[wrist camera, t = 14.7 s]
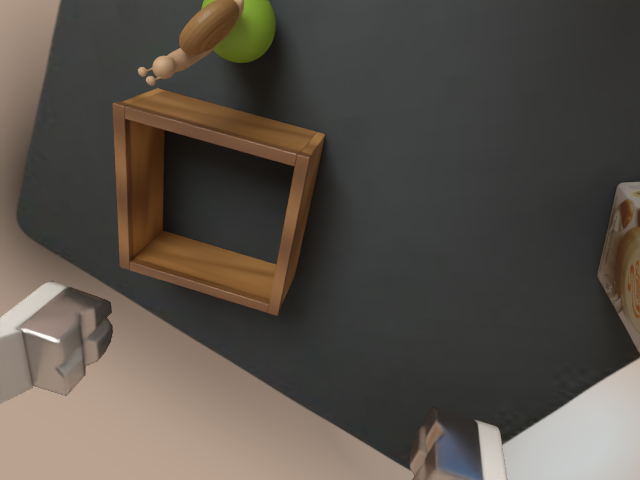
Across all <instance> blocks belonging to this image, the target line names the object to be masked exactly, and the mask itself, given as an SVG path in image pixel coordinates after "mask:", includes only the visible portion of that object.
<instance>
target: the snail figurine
mask: <svg viewBox="0 0 640 480" xmlns="http://www.w3.org/2000/svg"><path fill="white" fill-rule="evenodd" d="M275 29H276V20H275V14H274V11H273V8H272V6H271V4H270V2H269V0H204V2H203V5H202V9H201V10H200V11H199V12H198V13H197V14H196V15H195V16H194V17H193V18H192V19H191V20H190V21H189V22H188V23H187V25H186V26H185V27H184V29H183V30H182V32H181V34H180V38H179V44H180V47H181V48H180V49H177V50H175V51H174V52H172V53H170V54H169V55H167V56H160V57H158V58H157V59H156V60H155V61H154V63H153V67H152V68H151V69H149V70H146V68H144V67H140V68H139V69H138V73H139V75H141V76H143V77H144V76H146V75H147V71H150V70H153V72H154V74H155V75H156V76H157V77H158V78H156V79H155V78H154V77H152V76H148V77H147V78H146V82H147V83H148V84H149V85H154V84H155V83H156V80H157V79H160V78H161V79H166V78H169V77H171V76H172V75H173V74H174V73H175V72H179V71H182V70H184V69H186V68H188V67H190V66H191V65H193V64H194V63H196V62H197V61H199V60H200V59H202V58H203V57H205V56H206V55H208V54H209V53H210V52H211V51H212V50H213V51H214V52H215V53H217V54H218V55H219V56H221V57H222V58H224V59H226V60H228V61H231V62H236V63H246V62H251V61H253V60H256V59H258V58H259V57H261V56H262V55H263V54H264V53H265V52H266V51H267V50H268V48H269V47H270V45H271V43H272V41H273V39H274V35H275Z"/></svg>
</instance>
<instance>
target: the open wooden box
mask: <svg viewBox="0 0 640 480" xmlns="http://www.w3.org/2000/svg"><path fill="white" fill-rule="evenodd" d="M113 121H114V143H115V165H116V187H117V208H118V230H119V252H120V267H122V268H125V269H128V270H131V271H134V272H137V273H141V274H144V275H147V276H150V277H154V278H157V279H160V280H163V281H167V282H170V283H173V284H176V285H179V286H183V287H186V288H189V289H192V290H196V291H199V292H202V293H205V294H208V295H212V296H215V297H218V298H221V299H225V300H228V301H231V302H234V303H238V304H241V305H244V306H247V307H250V308H254V309H257V310H260V311H263V312H268V313H270V314H273V315H276V316H278V314H279V312H280V309H281V305H282V303H283V300H284V298H285V296H286V294H287V292H288V290H289V288H290V285H291V283H292V281H293V279H294V277H295V273H296V268H297V264H298V259H299V255H300V250H301V245H302V241H303V236H304V231H305V227H306V222H307V218H308V213H309V208H310V204H311V199H312V194H313V190H314V185H315V181H316V176H317V171H318V167H319V162H320V158H321V153H322V148H323V144H324V139H325V134H323V133H319V132H317V133H316V132H315V131H312V130H308V129H304V128H301V127H297V126H293V125H290V124H286V123H283V122H279V121H275V120H272V119H268V118H264V117H261V116H257V115H253V114H250V113H246V112H242V111H239V110H235V109H231V108H228V107H224V106H220V105H217V104H213V103H209V102H206V101H202V100H199V99H195V98H191V97H188V96H184V95H180V94H177V93H173V92H169V91H165V90H162V89H158V88H157V89H154V90H151V91H149V92H146V93H144V94H141V95H138V96H136V97H133V98H131V99H128V100H125V101H123V102H120V101H117V102H115V103H113ZM164 130H167V131H170V132H174V133H177V134H181V135H184V136H188V137H191V138H195V139H199V140H202V141H206V142H209V143H213V144H216V145H220V146H223V147H227V148H231V149H234V150H238V151H241V152H245V153H248V154H252V155H255V156H259V157H263V158H266V159H270V160H273V161H277V162H280V163H284V164H287V165H291V166H295V168H294V173H293V178H292V184H291V189H290V195H289V200H288V205H287V211H286V216H285V222H284V227H283V232H282V238H281V243H280V248H279V254H278V259H277V265H276V264H272V263H269V262H266V261H263V260H259V259H256V258H253V257H249V256H246V255H243V254H239V253H236V252H233V251H229V250H226V249H223V248H219V247H216V246H213V245H209V244H206V243H203V242H199V241H196V240H193V239H189V238H186V237H183V236H179V235H176V234H173V233H169V232H166V231H163V189H164Z"/></svg>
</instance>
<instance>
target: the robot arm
mask: <svg viewBox="0 0 640 480" xmlns="http://www.w3.org/2000/svg"><path fill="white" fill-rule="evenodd" d="M111 312H112V311H111V302H109V301H107V300H105V299H102V298H100V297H97V296H94V295H91V294H88V293H85V292H83V291H80V290H77V289H74V288H71V287H68V286H65V285H62V284H59V283H57V282H54V281H51V282H48V283H45V284H43V285H42V286H41V287H39V288H38V289H37V290H35V291H34V292H33V293H32V294H30V295H29V296H28V297H26V298H25V299H24V300H22V301H21V302H20V303H19V304H17V305H16V306H15V307H14V308H12V309H11V310H9V311H8V312H7V313H6V314H4V315H3V316H2V317H1V318H0V404H1V403H3V402H5V401H7V400H9V399H11V398H13V397H15V396H17V395H19V394H21V393H23V392H25V391H27V390H29V389H31V388H33V386H35V387H39V388H42V389H45V390H48V391H51V392H55V393H58V394H61V395H64V396H67V395H68V394H69V393H70V392H71V390H72V389H73V388H74V387H75V386H76V385H77V384H78V383H79V381H81V379H82V378H83V377H84V376H85V367H86V366H87V365H90V364H92V363H94V362H97V361H98V360H99V359H100V358H101V357H102V355H103V354H104V353H105V352H106V350H107V348H108V346H109V344H110V342H111V338H112V333H113V329H112V324H111V323H110V321H109V320H108V319H107V317H108V316H109V315H110V314H111ZM410 468H411V470H412V472H413V474H414V478H413V480H507V474H506V468H505V461H504V455H503V449H502V442H501V436H500V431H499V429H498V428H497V427H496V426H493V425H490V424H487V423H484V422H481V421H477V420H474V419H472V418H469V417H466V416H462V415H459V414H456V413H453V412H450V411H446V410H443V409H440V408H437V407H434V406H433V407H432V408H431V409H430V410H429V411H428V413H427V415H426V425H424V426H422V427H420V428H419V430H418V432H417V434H416V436H415V439H414V442H413V445H412V450H411V457H410Z"/></svg>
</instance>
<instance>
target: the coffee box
mask: <svg viewBox="0 0 640 480" xmlns="http://www.w3.org/2000/svg"><path fill="white" fill-rule="evenodd" d="M597 276H598V278H599V280H600V282H601V284H602V286H603V288H604V289H605V291H606V293H607V295H608V297H609V298H610V300H611V302H612V304H613V306H614V307H615V309H616V311H617V313H618V315H619V317H620V318H621V320H622V322H623V324H624V326H625V327H626V329H627V331H628V333H629V335H630V337H631V338H632V340H633V342H634V344H635V346H636V348H637V349H638V351H639V353H640V182H625V183H620V184H619V185H618V186H617V189H616V194H615V198H614V203H613V207H612V212H611V216H610V221H609V225H608V230H607V234H606V239H605V243H604V247H603V252H602V256H601V261H600V265H599V269H598V275H597Z"/></svg>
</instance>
